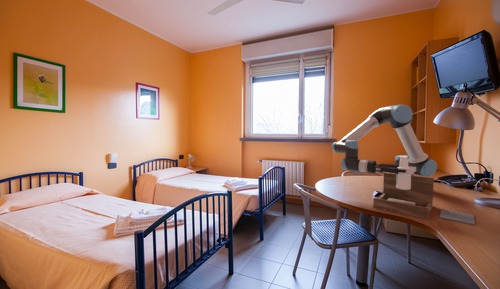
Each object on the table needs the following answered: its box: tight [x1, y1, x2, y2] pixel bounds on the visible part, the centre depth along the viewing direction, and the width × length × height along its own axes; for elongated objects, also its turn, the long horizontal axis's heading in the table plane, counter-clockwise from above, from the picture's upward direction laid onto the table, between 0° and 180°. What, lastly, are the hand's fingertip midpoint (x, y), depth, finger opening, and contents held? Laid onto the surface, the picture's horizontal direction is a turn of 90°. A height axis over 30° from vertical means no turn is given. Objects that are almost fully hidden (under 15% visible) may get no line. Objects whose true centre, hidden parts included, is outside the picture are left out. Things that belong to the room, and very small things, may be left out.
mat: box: [439, 208, 476, 226], centre depth 108 cm, size 14×12×1 cm
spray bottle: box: [396, 156, 411, 190], centre depth 122 cm, size 7×7×18 cm
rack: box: [372, 172, 435, 220], centre depth 122 cm, size 23×24×16 cm
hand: (414, 170), depth 118 cm, fingers closed on spray bottle, 7 cm apart
